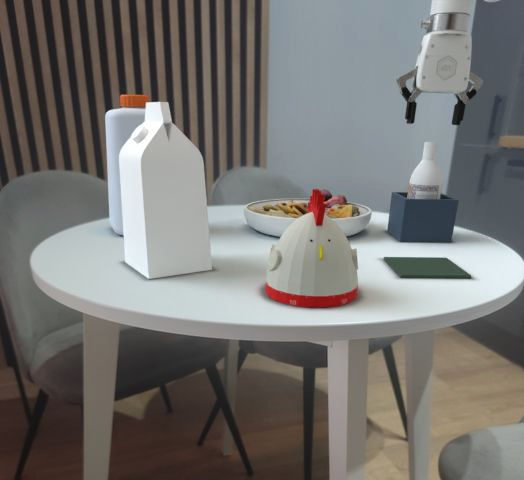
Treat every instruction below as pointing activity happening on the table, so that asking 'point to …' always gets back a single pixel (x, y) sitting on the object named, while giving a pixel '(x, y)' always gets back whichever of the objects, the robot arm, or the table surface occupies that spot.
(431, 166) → the bath foam
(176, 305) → the table surface
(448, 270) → the mat
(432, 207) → the dark blue open box
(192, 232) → the milk
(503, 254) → the table surface
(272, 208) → the bowl
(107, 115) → the plastic bottle
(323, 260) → the kitchen timer
